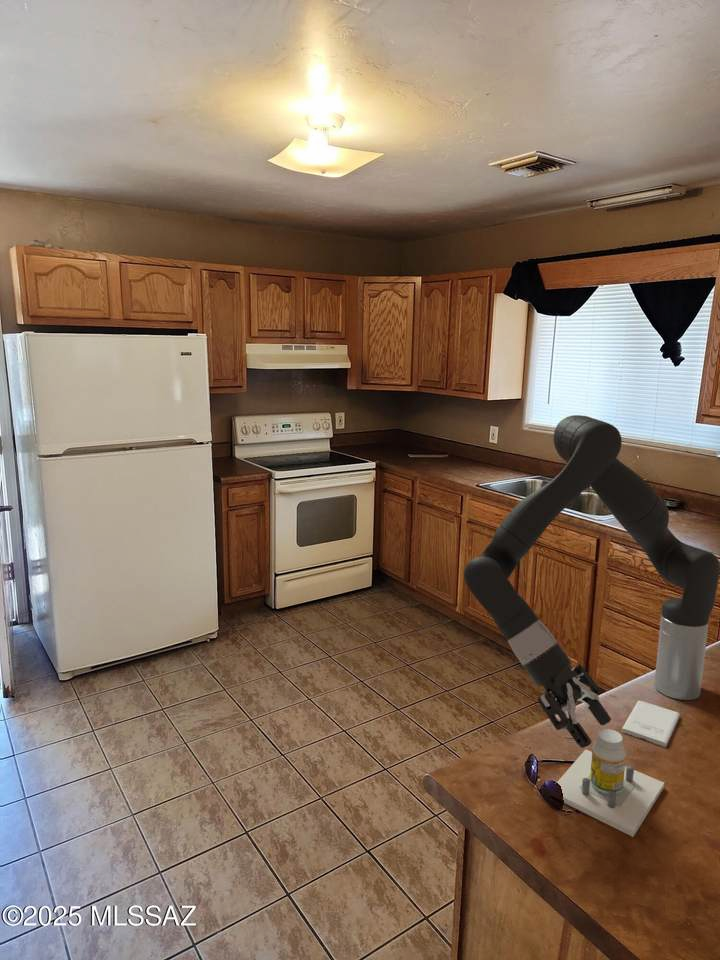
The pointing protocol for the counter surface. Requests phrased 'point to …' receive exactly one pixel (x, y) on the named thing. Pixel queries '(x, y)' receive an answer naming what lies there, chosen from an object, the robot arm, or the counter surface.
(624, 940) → the counter surface
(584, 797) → the pin tray
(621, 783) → the supplement bottle
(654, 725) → the external hard drive
